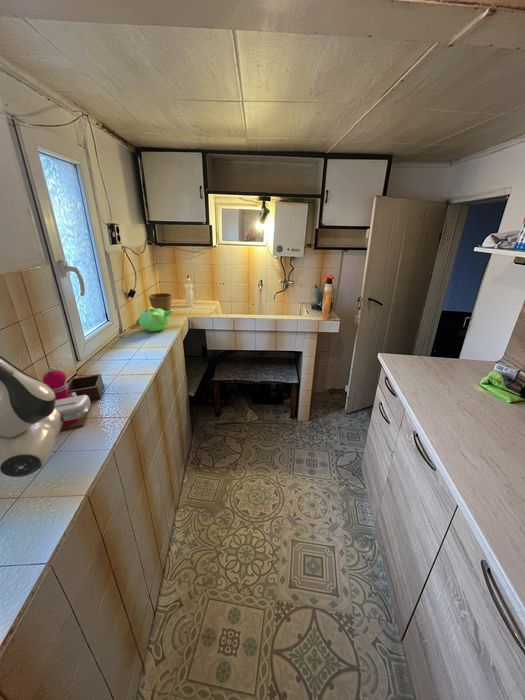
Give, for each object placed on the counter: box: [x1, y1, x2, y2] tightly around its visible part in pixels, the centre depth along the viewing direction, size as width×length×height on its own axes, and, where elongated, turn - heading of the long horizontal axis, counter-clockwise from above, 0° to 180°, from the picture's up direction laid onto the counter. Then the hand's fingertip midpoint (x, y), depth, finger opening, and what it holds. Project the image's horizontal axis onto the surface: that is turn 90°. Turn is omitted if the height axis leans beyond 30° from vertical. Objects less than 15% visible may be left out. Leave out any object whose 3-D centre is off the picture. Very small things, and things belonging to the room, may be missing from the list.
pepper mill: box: [42, 366, 79, 425], centre depth 91 cm, size 7×7×20 cm
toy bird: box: [138, 305, 174, 332], centre depth 173 cm, size 18×17×15 cm
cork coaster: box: [60, 414, 87, 432], centre depth 95 cm, size 10×10×1 cm
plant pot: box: [148, 292, 173, 318], centre depth 196 cm, size 15×15×16 cm
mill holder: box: [67, 373, 105, 402], centre depth 109 cm, size 11×11×6 cm
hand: (56, 397), depth 87 cm, fingers open, 8 cm apart
